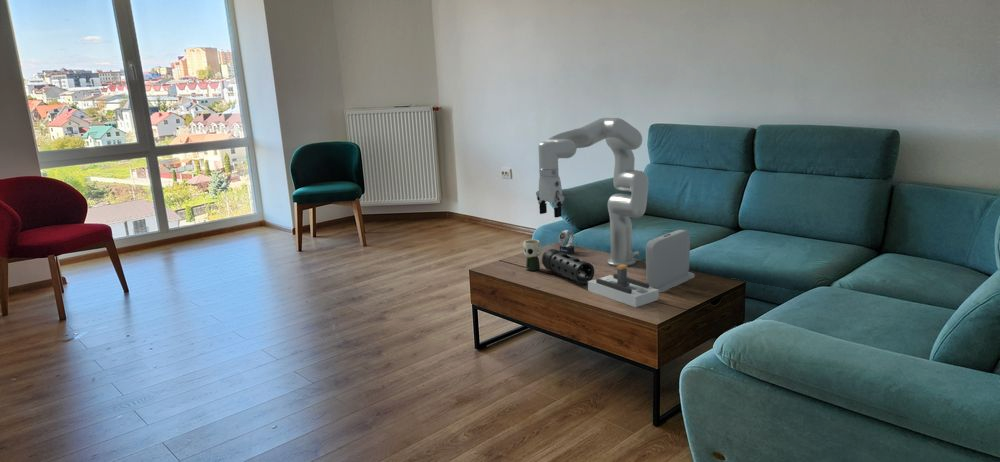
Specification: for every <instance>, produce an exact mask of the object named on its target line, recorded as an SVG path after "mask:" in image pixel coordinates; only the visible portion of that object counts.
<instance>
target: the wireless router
mask: <svg viewBox="0 0 1000 462" xmlns="http://www.w3.org/2000/svg"><path fill="white" fill-rule="evenodd" d="M690 250H691V233H690V231H689V230H686V229H676V230H675V231H672V232H668V233H665V234H662V235H661V236H658V237H655V238H653V239H650V240H649V241H648V242H647V244H646V245H645V273H646V275H645V276H646V283H648V284H649V287H651V288H654V289H658V294H660V293H665V292H666V291H669V290H671V289H673V288H675V287H676V286H679V285H681V284H683V283H685V282H687V281H689V279H690V280H691V278H692V279H693V278H695V275H696V274H695V273H693V272H691V271H689V270H690V254H691V253H690V252H691V251H690ZM672 287H673V288H672ZM670 288H671V289H670Z"/></svg>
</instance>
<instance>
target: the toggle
mask: <svg viewBox="0 0 1000 462" xmlns="http://www.w3.org/2000/svg"><path fill="white" fill-rule="evenodd" d="M616 269H617V270H616V272H617V273H616V274H617V283H615V284H617V285H620V286H623V287H624V286H627V285H630V283H627V277H628V273H627V272H628V271H627V270H628V266H627V265H624V264H622V265H619V266H616Z"/></svg>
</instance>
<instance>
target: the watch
mask: <svg viewBox="0 0 1000 462" xmlns="http://www.w3.org/2000/svg"><path fill="white" fill-rule="evenodd" d="M568 233H569V234H568ZM568 235H569V237H568ZM557 238H558V239H557V240H558V242H559V244H560V245H561V246H559V251H561V252H562V253H565V254H567V255H571V254H575V246H574V245H572V244H573V242H574V240H575V236H574V233H573V231H572V230H568V229H565V230H562V231H561V232H560V233H559V234H558V236H557ZM567 239H568V242H567V244H565V242H566V241H567Z"/></svg>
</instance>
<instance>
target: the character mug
mask: <svg viewBox="0 0 1000 462" xmlns="http://www.w3.org/2000/svg"><path fill="white" fill-rule="evenodd" d="M522 246H523V247H522V248H523V249H522V250H523V254H524V256H525V257H526V263H525V264H526V265H525V270H528V271H537V270H539V269H540V268H541V265H540V259H539V256H540V255H542V247H541V241H540V240H538V239H527V240H524V241H523V244H522Z"/></svg>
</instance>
